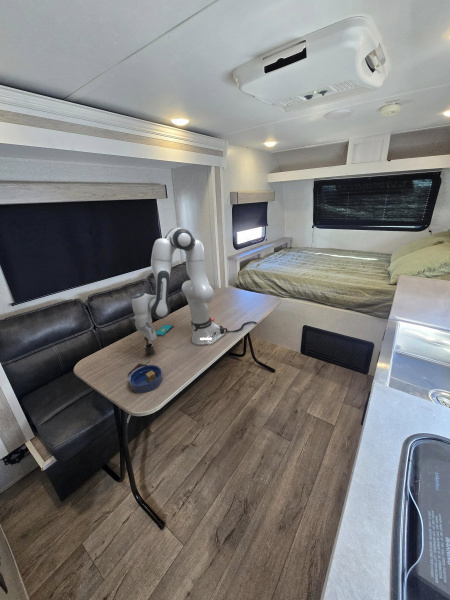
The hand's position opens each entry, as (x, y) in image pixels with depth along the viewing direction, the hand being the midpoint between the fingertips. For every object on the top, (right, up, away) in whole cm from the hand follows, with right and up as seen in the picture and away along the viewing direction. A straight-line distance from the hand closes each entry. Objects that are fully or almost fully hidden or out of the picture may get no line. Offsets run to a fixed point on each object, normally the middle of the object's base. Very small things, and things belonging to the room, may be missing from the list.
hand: (148, 341), depth 142 cm
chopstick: (0, -8, +3) cm, 8 cm away
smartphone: (+2, +3, +29) cm, 30 cm away
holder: (0, -8, +3) cm, 9 cm away
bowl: (+6, -17, -21) cm, 28 cm away
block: (+8, -16, -20) cm, 26 cm away
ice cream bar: (-1, -14, -10) cm, 17 cm away
